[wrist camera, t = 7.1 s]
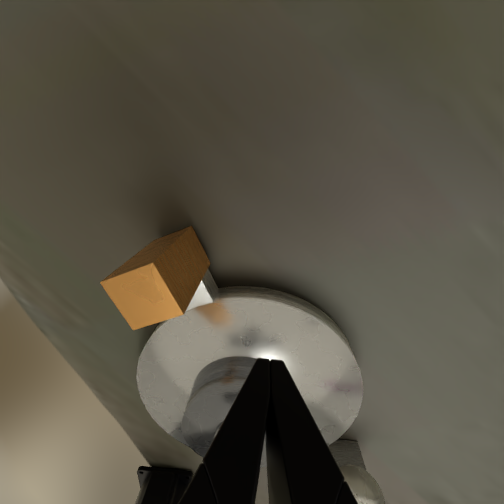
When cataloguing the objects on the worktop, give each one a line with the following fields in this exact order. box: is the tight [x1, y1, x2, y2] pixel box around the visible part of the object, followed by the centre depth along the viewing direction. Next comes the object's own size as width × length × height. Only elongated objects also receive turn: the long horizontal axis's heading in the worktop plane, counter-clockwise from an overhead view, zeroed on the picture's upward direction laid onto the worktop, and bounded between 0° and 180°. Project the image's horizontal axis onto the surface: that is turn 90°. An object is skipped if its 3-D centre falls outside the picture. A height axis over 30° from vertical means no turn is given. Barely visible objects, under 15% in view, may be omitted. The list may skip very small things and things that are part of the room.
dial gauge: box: [328, 439, 385, 504], centre depth 23 cm, size 4×4×6 cm
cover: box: [181, 356, 267, 468], centre depth 18 cm, size 8×8×4 cm
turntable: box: [100, 226, 363, 448], centre depth 18 cm, size 23×18×6 cm
